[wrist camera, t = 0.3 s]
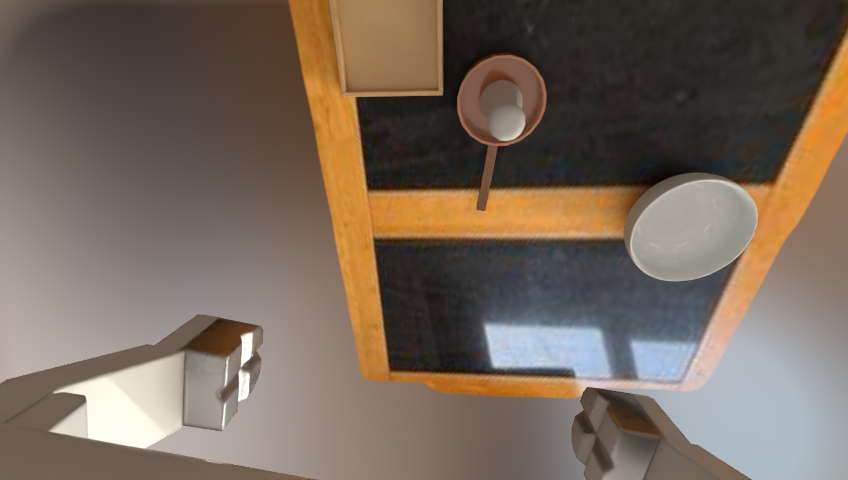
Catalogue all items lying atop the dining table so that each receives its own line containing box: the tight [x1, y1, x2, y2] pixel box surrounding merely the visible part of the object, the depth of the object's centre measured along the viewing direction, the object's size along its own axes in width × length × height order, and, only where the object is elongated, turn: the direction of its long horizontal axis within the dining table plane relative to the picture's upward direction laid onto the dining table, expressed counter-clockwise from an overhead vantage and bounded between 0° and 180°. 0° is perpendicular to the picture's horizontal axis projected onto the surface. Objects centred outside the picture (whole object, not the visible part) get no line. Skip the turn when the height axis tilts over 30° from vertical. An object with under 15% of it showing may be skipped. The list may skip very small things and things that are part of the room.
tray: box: [329, 0, 444, 97], centre depth 50 cm, size 20×14×2 cm
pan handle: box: [477, 145, 498, 211], centre depth 59 cm, size 11×1×1 cm, turn 175°
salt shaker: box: [479, 80, 525, 141], centre depth 49 cm, size 6×6×13 cm
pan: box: [457, 52, 547, 146], centre depth 54 cm, size 12×12×3 cm
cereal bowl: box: [624, 173, 758, 281], centre depth 58 cm, size 17×17×7 cm
